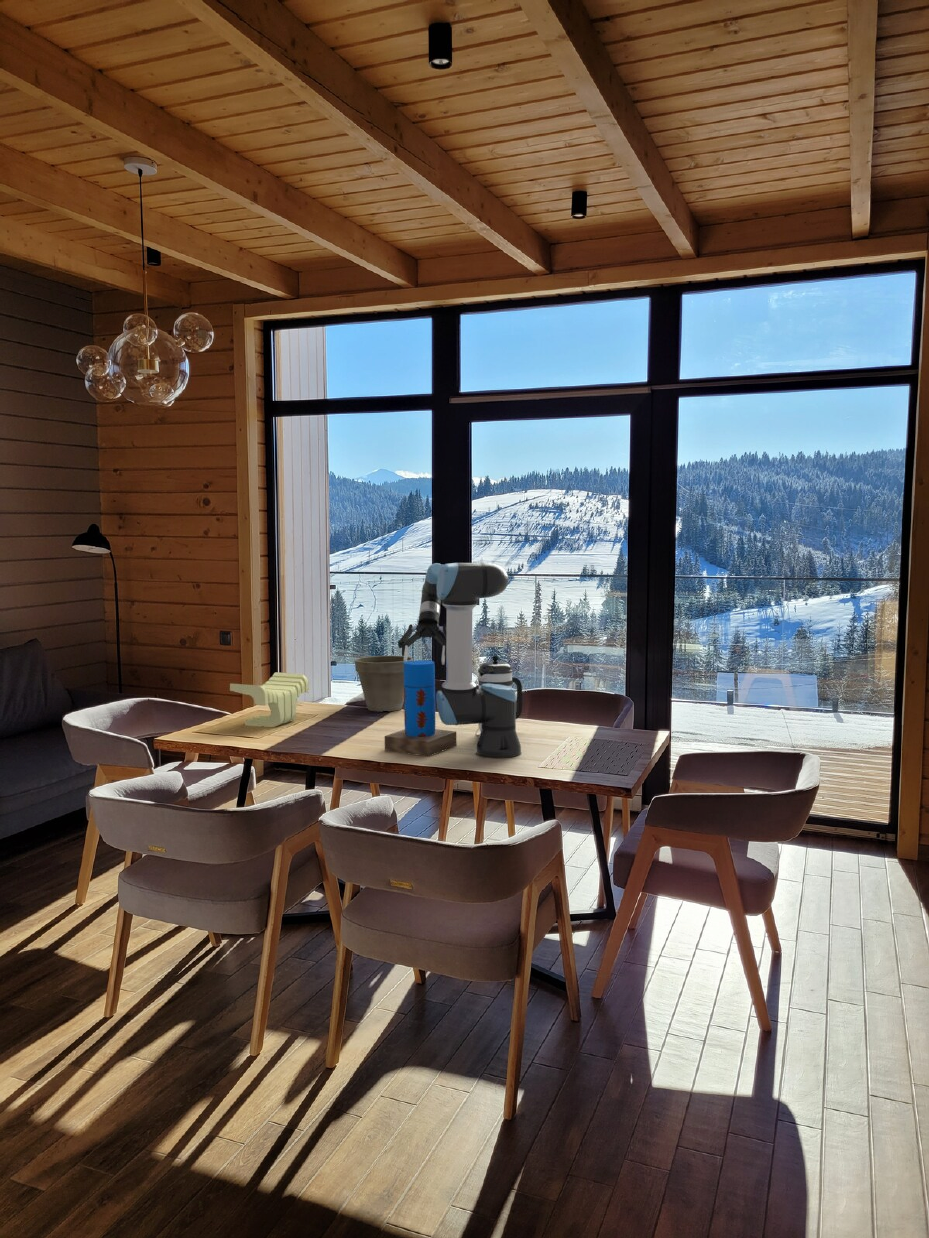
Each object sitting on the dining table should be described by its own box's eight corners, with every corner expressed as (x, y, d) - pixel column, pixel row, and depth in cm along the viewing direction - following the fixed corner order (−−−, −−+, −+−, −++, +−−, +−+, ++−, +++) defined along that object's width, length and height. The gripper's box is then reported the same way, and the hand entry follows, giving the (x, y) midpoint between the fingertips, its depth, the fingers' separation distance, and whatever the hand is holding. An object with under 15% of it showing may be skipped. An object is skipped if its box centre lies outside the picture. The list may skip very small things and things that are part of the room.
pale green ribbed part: (266, 732, 344) (264, 685, 343) (231, 729, 350) (229, 683, 349) (309, 717, 372) (308, 674, 370) (276, 714, 378) (275, 672, 376)
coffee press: (515, 741, 326) (515, 658, 323) (471, 739, 329) (471, 657, 326) (522, 731, 343) (522, 652, 340) (480, 729, 346) (480, 651, 343)
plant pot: (362, 703, 403) (361, 654, 401) (417, 703, 400) (417, 654, 398) (350, 714, 378) (349, 662, 376) (408, 714, 376) (408, 662, 374)
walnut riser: (456, 745, 321) (456, 731, 320) (428, 756, 305) (428, 741, 305) (414, 739, 330) (413, 726, 329) (384, 750, 315) (384, 735, 314)
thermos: (406, 737, 311) (405, 665, 309) (402, 731, 322) (401, 660, 319) (438, 736, 313) (437, 663, 311) (433, 729, 324) (432, 659, 321)
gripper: (463, 622, 340) (459, 668, 326) (397, 622, 342) (390, 668, 329) (461, 609, 334) (457, 656, 320) (394, 609, 336) (387, 655, 323)
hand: (423, 662), depth 325 cm, fingers open, 13 cm apart
